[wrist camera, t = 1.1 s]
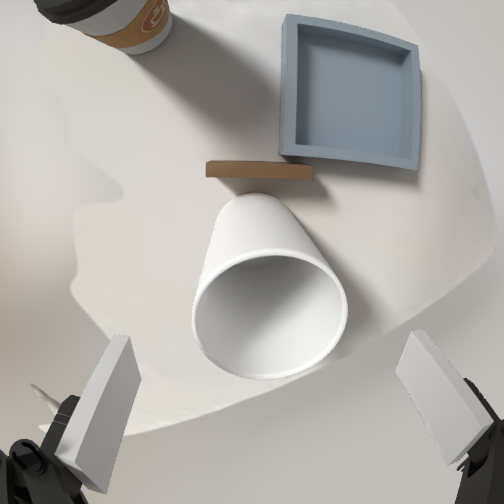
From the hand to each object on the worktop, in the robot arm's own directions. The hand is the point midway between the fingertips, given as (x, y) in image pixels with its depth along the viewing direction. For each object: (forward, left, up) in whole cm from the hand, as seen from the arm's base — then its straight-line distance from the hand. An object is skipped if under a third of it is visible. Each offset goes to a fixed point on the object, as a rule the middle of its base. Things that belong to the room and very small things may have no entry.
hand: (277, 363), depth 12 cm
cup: (0, 0, -19) cm, 19 cm away
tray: (-15, +9, -19) cm, 26 cm away
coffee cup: (-22, -12, -19) cm, 31 cm away
